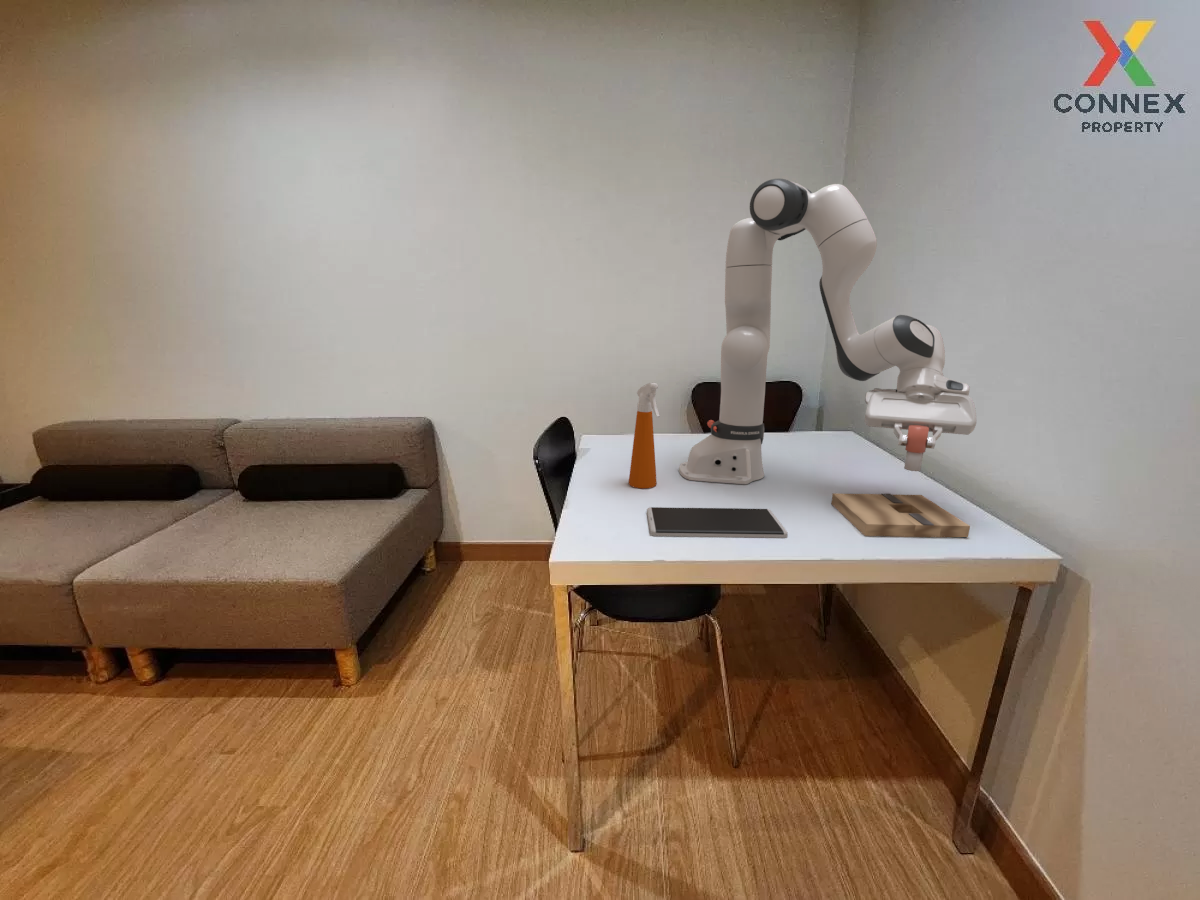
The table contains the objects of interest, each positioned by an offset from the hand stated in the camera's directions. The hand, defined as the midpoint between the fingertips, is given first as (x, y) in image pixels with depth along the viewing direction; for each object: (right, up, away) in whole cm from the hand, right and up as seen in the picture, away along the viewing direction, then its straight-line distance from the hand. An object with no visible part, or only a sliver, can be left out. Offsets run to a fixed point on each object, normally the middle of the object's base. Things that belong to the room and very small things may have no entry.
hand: (916, 445), depth 113 cm
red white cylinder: (0, -5, +2) cm, 5 cm away
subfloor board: (-2, -16, +5) cm, 17 cm away
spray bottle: (-53, -10, +25) cm, 60 cm away
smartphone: (-41, -17, +2) cm, 44 cm away
